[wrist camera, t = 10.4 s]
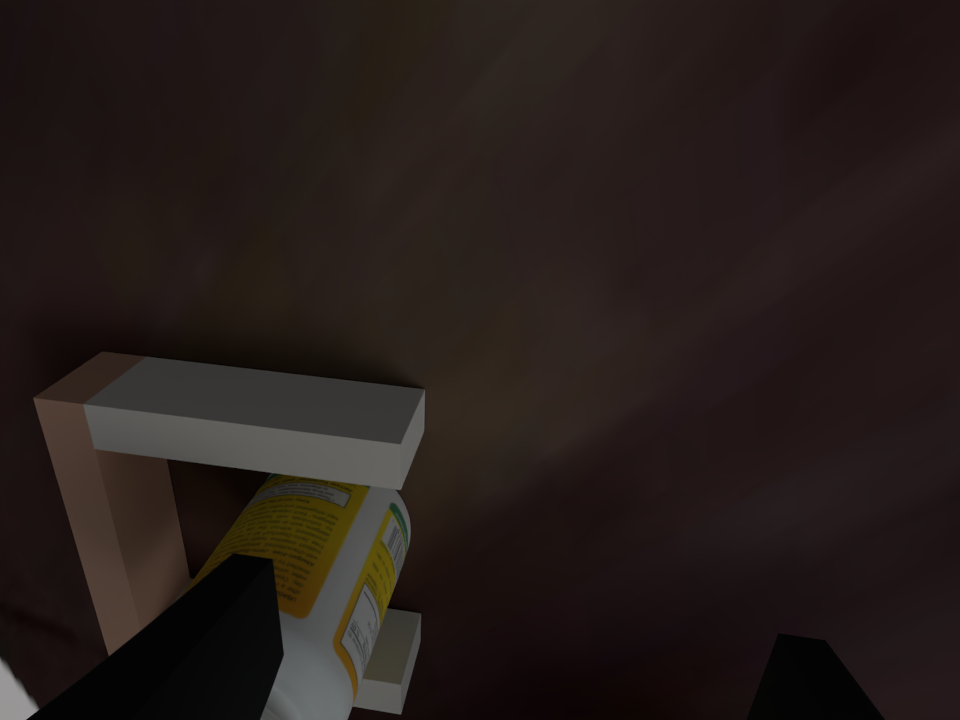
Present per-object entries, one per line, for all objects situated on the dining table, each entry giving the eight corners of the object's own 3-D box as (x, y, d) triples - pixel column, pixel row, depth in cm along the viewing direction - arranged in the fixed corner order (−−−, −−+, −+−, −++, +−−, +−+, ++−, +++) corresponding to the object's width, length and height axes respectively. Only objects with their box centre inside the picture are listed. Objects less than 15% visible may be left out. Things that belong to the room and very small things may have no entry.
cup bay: (420, 641, 25) (400, 714, 22) (160, 600, 26) (112, 665, 23) (424, 389, 20) (400, 444, 17) (102, 351, 21) (33, 397, 18)
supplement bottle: (445, 527, 22) (360, 832, 14) (342, 593, 25) (214, 892, 16) (330, 418, 21) (159, 682, 13) (232, 498, 23) (28, 770, 15)
